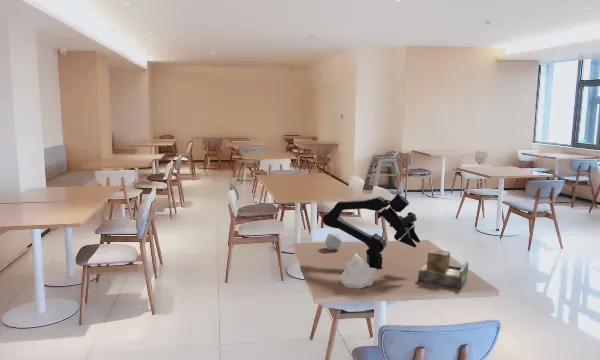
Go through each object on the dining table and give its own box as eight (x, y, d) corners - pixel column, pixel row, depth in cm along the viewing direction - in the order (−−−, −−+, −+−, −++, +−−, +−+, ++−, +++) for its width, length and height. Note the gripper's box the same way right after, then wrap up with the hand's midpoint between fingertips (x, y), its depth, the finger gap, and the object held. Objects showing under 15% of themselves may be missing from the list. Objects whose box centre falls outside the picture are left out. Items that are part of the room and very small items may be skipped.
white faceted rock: (373, 294, 198) (371, 263, 193) (337, 292, 202) (334, 262, 197) (377, 277, 209) (375, 248, 204) (342, 275, 213) (339, 247, 208)
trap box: (418, 280, 211) (419, 264, 210) (426, 270, 225) (427, 255, 224) (460, 288, 203) (462, 271, 202) (467, 278, 217) (468, 261, 216)
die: (336, 253, 249) (346, 237, 251) (321, 244, 250) (332, 228, 252) (334, 255, 258) (344, 239, 260) (320, 245, 259) (330, 230, 261)
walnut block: (426, 270, 213) (428, 252, 212) (430, 265, 220) (431, 248, 218) (445, 273, 210) (446, 255, 209) (448, 269, 216) (450, 251, 215)
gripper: (401, 210, 211) (427, 237, 208) (409, 204, 228) (433, 228, 225) (383, 227, 215) (408, 253, 212) (393, 219, 232) (416, 244, 229)
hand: (417, 244), depth 219 cm, fingers open, 9 cm apart
